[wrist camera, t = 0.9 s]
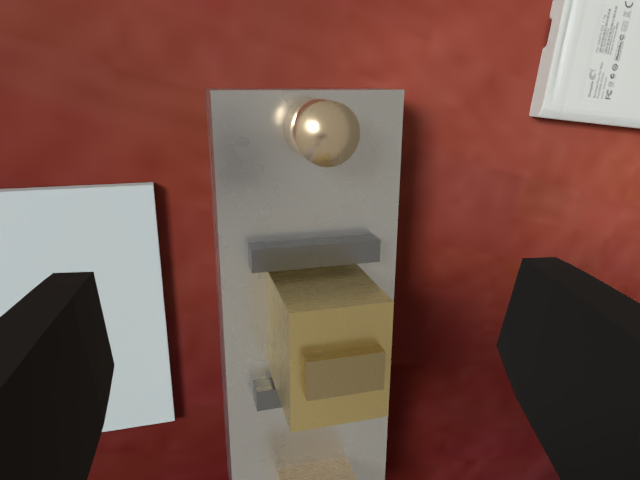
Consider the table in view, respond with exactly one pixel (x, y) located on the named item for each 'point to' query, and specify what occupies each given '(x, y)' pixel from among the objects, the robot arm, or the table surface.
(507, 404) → the table surface
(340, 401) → the wooden block with pad
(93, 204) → the mat
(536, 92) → the external hard drive
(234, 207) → the grey piece
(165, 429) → the table surface
